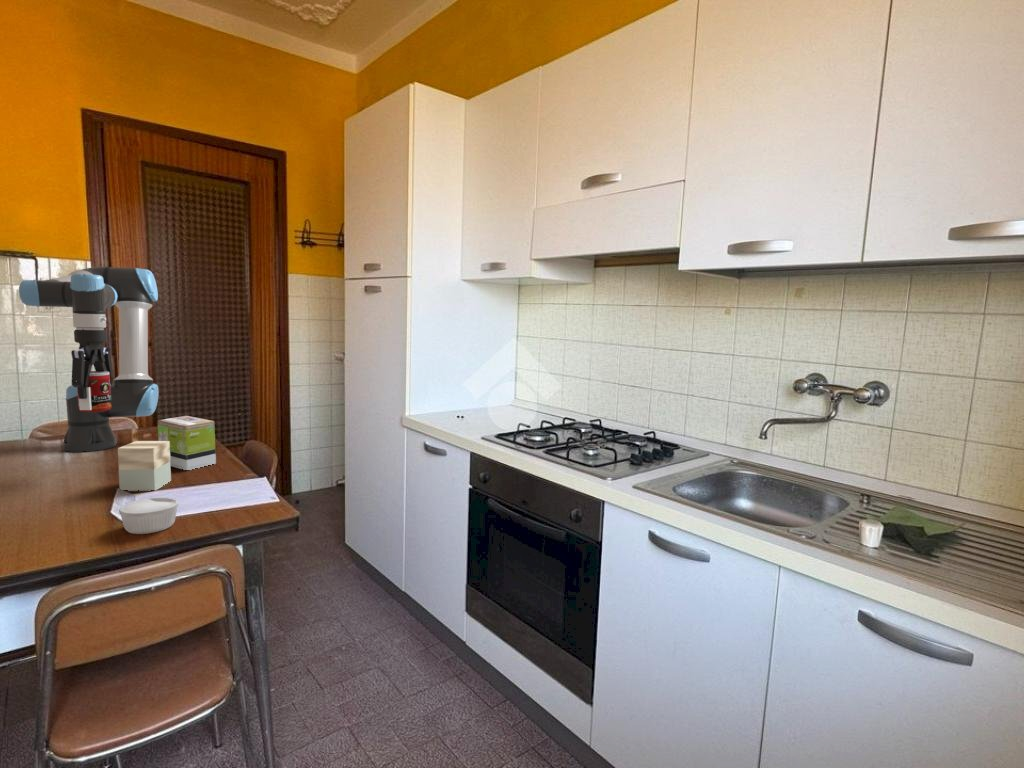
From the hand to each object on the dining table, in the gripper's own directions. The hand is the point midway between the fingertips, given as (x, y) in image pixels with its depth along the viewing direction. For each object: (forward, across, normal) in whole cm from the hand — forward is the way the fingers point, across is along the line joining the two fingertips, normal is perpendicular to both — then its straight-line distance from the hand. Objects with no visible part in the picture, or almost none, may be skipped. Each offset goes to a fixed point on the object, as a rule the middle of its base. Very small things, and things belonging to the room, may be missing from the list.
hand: (95, 407), depth 161 cm
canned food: (+1, 0, 0) cm, 1 cm away
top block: (+15, -10, -18) cm, 25 cm away
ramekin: (+21, -41, -35) cm, 58 cm away
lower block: (+21, -10, -18) cm, 29 cm away
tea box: (+21, +13, -19) cm, 31 cm away
